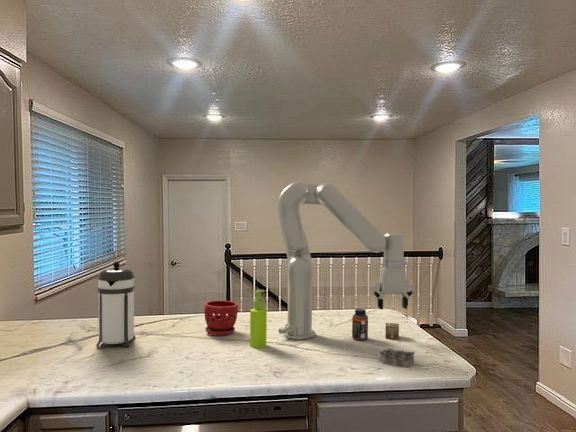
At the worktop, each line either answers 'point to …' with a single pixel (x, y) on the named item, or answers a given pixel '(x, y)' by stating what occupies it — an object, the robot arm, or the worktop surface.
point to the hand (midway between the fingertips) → (392, 308)
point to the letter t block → (392, 331)
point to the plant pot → (220, 317)
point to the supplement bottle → (360, 325)
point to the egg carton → (397, 357)
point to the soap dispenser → (258, 322)
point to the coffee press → (116, 306)
